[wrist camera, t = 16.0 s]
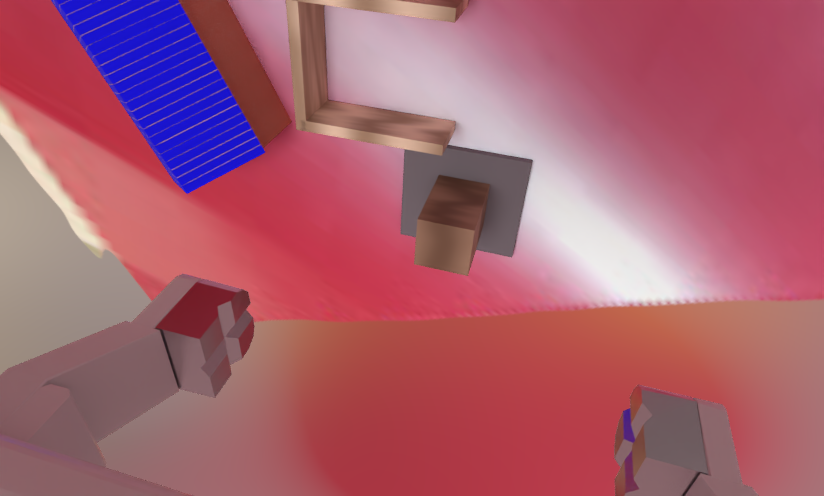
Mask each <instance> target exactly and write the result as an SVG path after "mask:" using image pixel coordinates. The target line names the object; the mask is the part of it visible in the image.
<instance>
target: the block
mask: <svg viewBox="0 0 824 496" xmlns="http://www.w3.org/2000/svg"><path fill="white" fill-rule="evenodd" d="M489 187H490V184H486V183H481V182H476V181H470V180H465V179H459V178H454V177H449V176H443V175H439V176H438V178H437V180H436V182H435V184H434V186H433V188H432V190H431V192H430V194H429V196H428V198H427V200H426V203H425V205H424V207H423V209H422V211H421V213H420V215H419V217H418V219H417V232H416V246H415V260H414V264H416V265H421V266H425V267H430V268H434V269H439V270H444V271H448V272H453V273H457V274H462V275H466V276H468V274H469V270H470V267H471V264H472V261H473V258H474V254H475V251H476V248H477V245H478V242H479V238H480V235H481V232H482V229H483V224H484V218H485V212H486V206H487V199H488V193H489Z"/></svg>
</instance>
